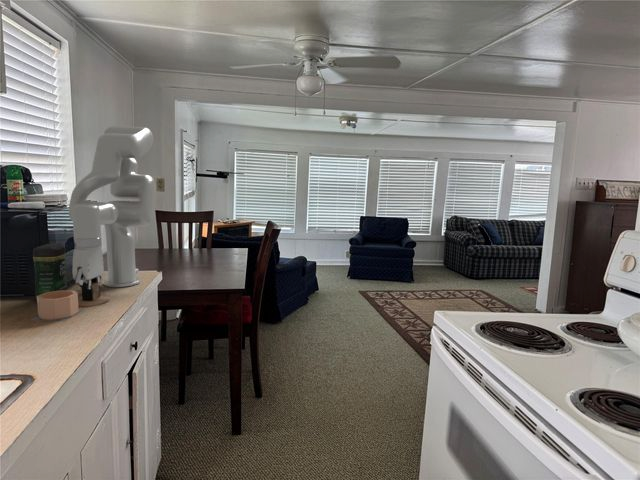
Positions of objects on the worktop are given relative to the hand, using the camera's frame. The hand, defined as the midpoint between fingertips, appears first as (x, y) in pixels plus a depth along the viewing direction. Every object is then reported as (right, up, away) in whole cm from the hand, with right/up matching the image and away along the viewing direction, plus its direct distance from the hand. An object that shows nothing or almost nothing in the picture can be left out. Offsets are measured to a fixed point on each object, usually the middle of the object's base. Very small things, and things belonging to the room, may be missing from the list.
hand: (91, 298), depth 130 cm
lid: (0, -1, 0) cm, 1 cm away
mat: (-2, -3, -13) cm, 13 cm away
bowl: (-2, -3, -13) cm, 13 cm away
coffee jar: (-14, -1, +2) cm, 14 cm away
